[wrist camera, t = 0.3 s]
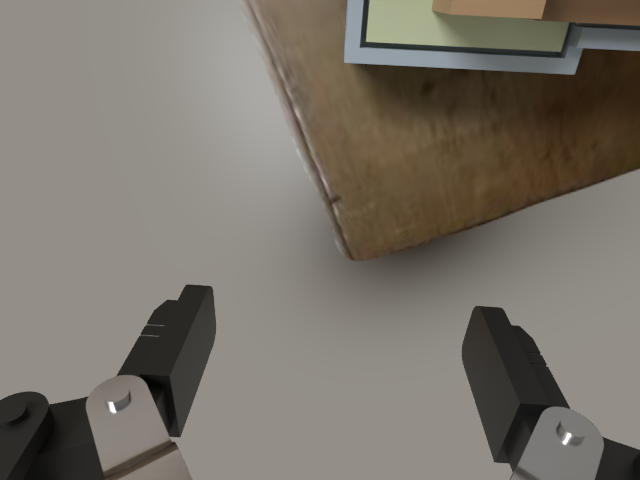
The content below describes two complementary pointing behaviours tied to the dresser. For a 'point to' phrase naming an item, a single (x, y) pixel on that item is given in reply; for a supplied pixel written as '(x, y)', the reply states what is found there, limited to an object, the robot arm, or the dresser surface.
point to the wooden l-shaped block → (593, 11)
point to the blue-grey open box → (484, 57)
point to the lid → (464, 24)
